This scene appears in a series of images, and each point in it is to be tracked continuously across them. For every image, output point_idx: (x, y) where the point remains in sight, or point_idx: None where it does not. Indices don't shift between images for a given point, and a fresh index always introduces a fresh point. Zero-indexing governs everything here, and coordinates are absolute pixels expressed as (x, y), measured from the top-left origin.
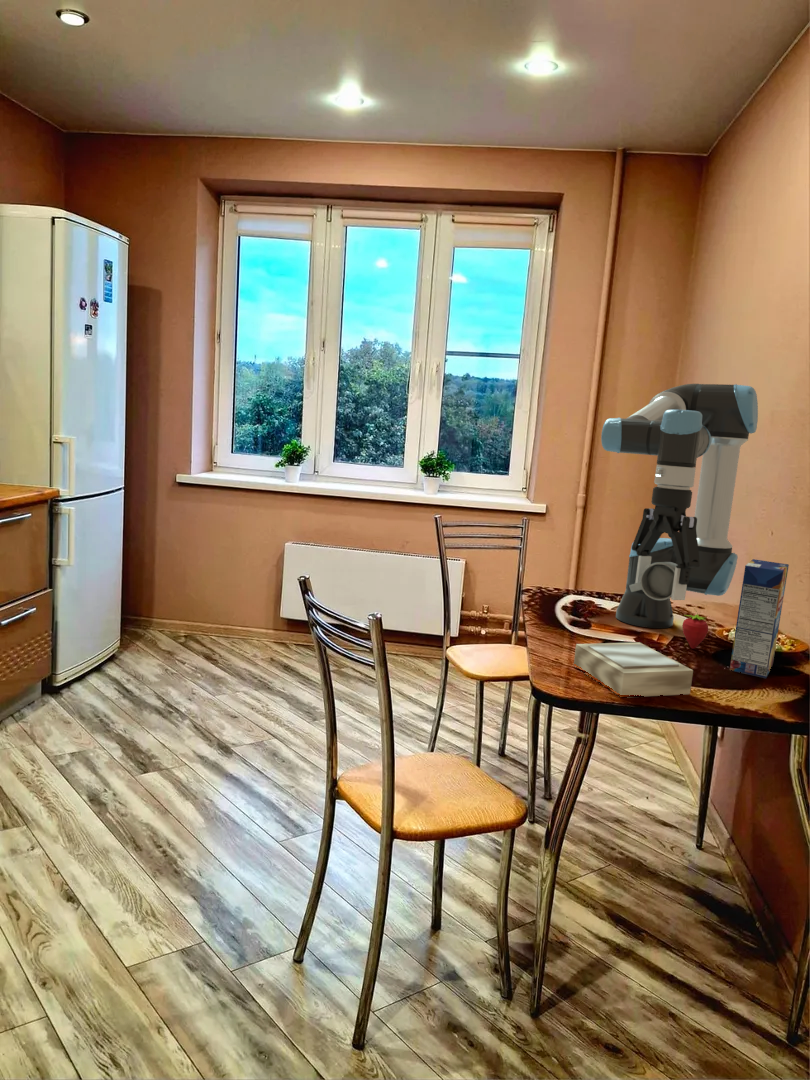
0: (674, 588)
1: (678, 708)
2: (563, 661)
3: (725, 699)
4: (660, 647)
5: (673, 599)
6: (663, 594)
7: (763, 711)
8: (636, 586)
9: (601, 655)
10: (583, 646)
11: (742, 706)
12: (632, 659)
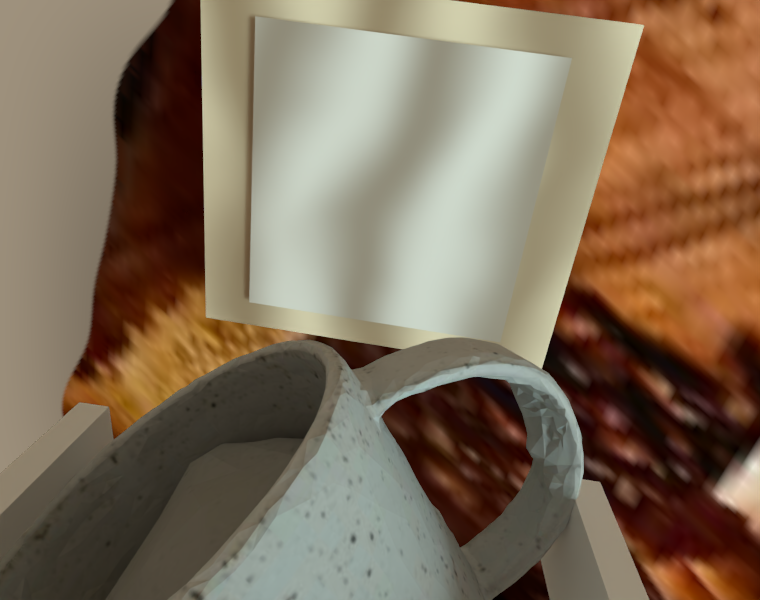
0: (13, 470)
1: (136, 147)
2: (676, 31)
3: (190, 354)
4: (626, 525)
5: (77, 405)
6: (224, 445)
7: (105, 380)
8: (419, 359)
9: (442, 40)
10: (594, 42)
11: (140, 357)
12: (333, 144)
